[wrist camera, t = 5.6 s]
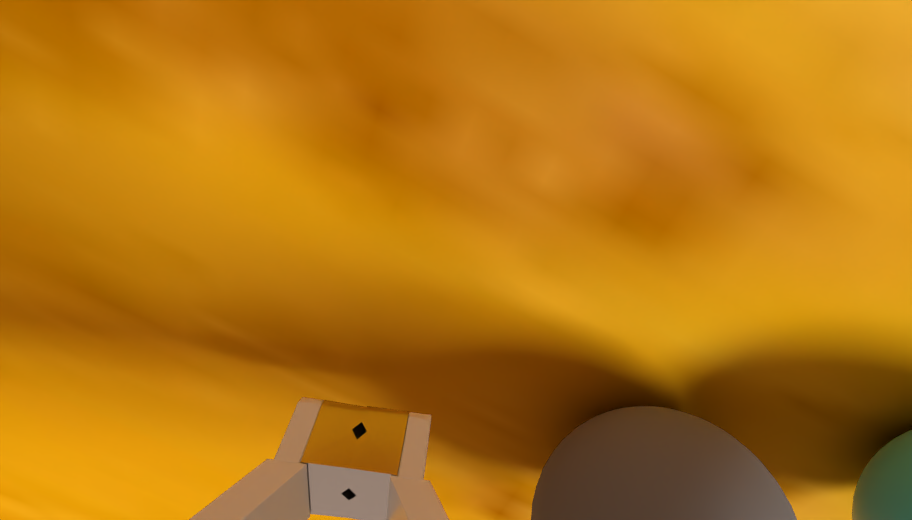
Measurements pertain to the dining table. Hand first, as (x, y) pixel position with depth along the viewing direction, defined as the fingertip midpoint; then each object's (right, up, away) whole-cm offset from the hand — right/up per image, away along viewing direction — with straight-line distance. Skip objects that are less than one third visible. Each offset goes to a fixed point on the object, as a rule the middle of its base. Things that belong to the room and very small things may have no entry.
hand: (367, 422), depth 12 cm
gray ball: (+7, -2, 0) cm, 7 cm away
